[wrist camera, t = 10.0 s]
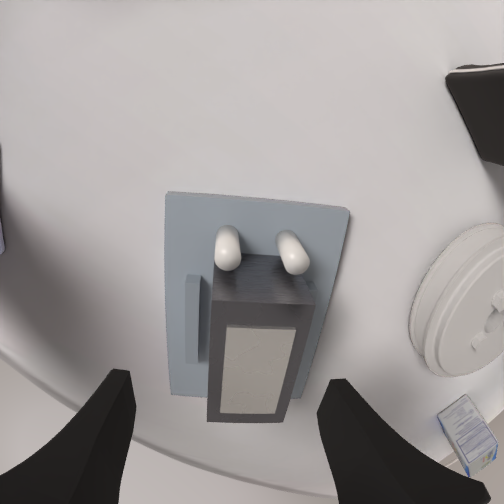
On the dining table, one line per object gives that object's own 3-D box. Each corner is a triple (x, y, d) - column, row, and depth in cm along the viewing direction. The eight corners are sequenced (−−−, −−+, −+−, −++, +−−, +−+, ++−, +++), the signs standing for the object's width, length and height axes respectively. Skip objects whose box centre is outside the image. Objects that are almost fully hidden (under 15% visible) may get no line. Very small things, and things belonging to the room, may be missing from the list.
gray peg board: (172, 387, 22) (166, 425, 19) (168, 191, 17) (153, 210, 13) (298, 391, 24) (307, 427, 20) (345, 207, 18) (371, 229, 14)
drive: (208, 364, 21) (206, 424, 16) (214, 251, 17) (211, 302, 13) (272, 366, 21) (283, 424, 16) (293, 256, 18) (317, 307, 13)
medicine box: (436, 413, 29) (466, 467, 21) (466, 392, 28) (500, 442, 20) (444, 433, 31) (468, 479, 23) (470, 414, 31) (497, 458, 23)
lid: (480, 185, 18) (527, 205, 13) (524, 271, 22) (556, 296, 17) (373, 315, 21) (403, 360, 17) (443, 368, 25) (467, 402, 21)
